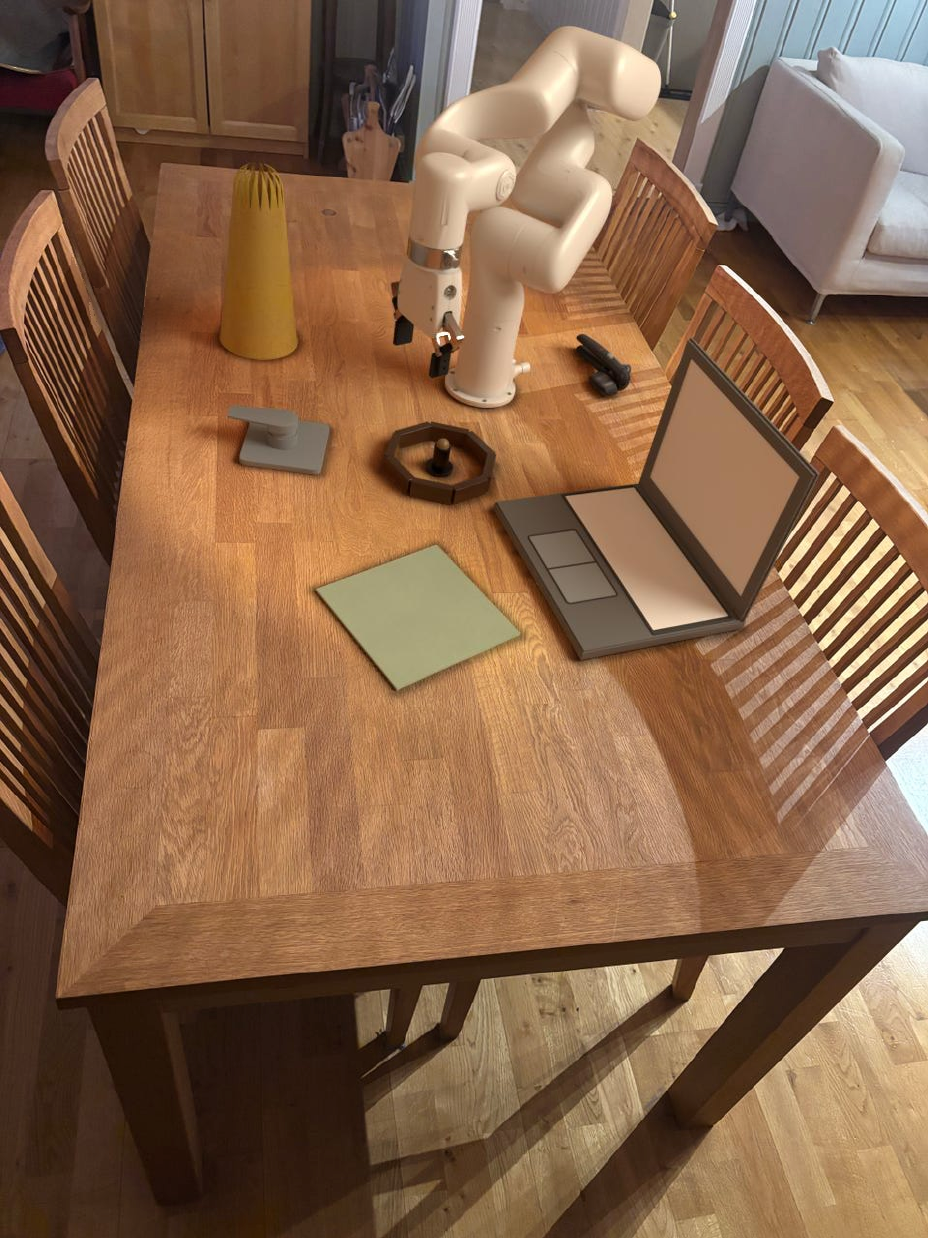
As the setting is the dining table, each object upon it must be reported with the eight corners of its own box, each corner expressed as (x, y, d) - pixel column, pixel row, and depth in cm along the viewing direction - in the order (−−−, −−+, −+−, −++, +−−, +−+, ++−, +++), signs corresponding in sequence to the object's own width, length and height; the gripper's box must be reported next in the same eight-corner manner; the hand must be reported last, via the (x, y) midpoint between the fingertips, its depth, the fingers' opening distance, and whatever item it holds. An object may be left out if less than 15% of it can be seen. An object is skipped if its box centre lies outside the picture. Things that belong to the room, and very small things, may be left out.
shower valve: (235, 386, 152) (331, 400, 153) (236, 416, 156) (330, 429, 157) (219, 432, 143) (321, 446, 145) (220, 462, 147) (319, 475, 148)
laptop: (492, 510, 148) (527, 348, 129) (641, 491, 158) (695, 336, 138) (579, 662, 129) (636, 498, 109) (743, 630, 138) (824, 473, 118)
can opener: (634, 399, 177) (643, 372, 173) (600, 402, 175) (608, 375, 171) (593, 347, 188) (600, 321, 184) (561, 349, 186) (567, 323, 182)
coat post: (442, 457, 156) (447, 428, 152) (458, 472, 154) (463, 443, 150) (419, 464, 154) (424, 435, 150) (435, 480, 152) (440, 451, 148)
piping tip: (274, 368, 167) (275, 193, 146) (204, 343, 169) (195, 167, 148) (311, 334, 176) (317, 166, 155) (244, 311, 178) (242, 142, 157)
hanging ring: (451, 427, 162) (453, 413, 160) (512, 484, 154) (515, 470, 152) (366, 452, 154) (367, 438, 152) (425, 514, 146) (427, 500, 144)
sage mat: (436, 546, 141) (436, 544, 141) (520, 635, 131) (520, 633, 131) (315, 590, 131) (315, 588, 131) (396, 690, 121) (397, 688, 121)
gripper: (492, 274, 132) (473, 383, 144) (422, 220, 141) (409, 327, 153) (447, 283, 128) (431, 394, 140) (378, 227, 137) (368, 336, 149)
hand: (419, 359), depth 147 cm, fingers open, 9 cm apart
